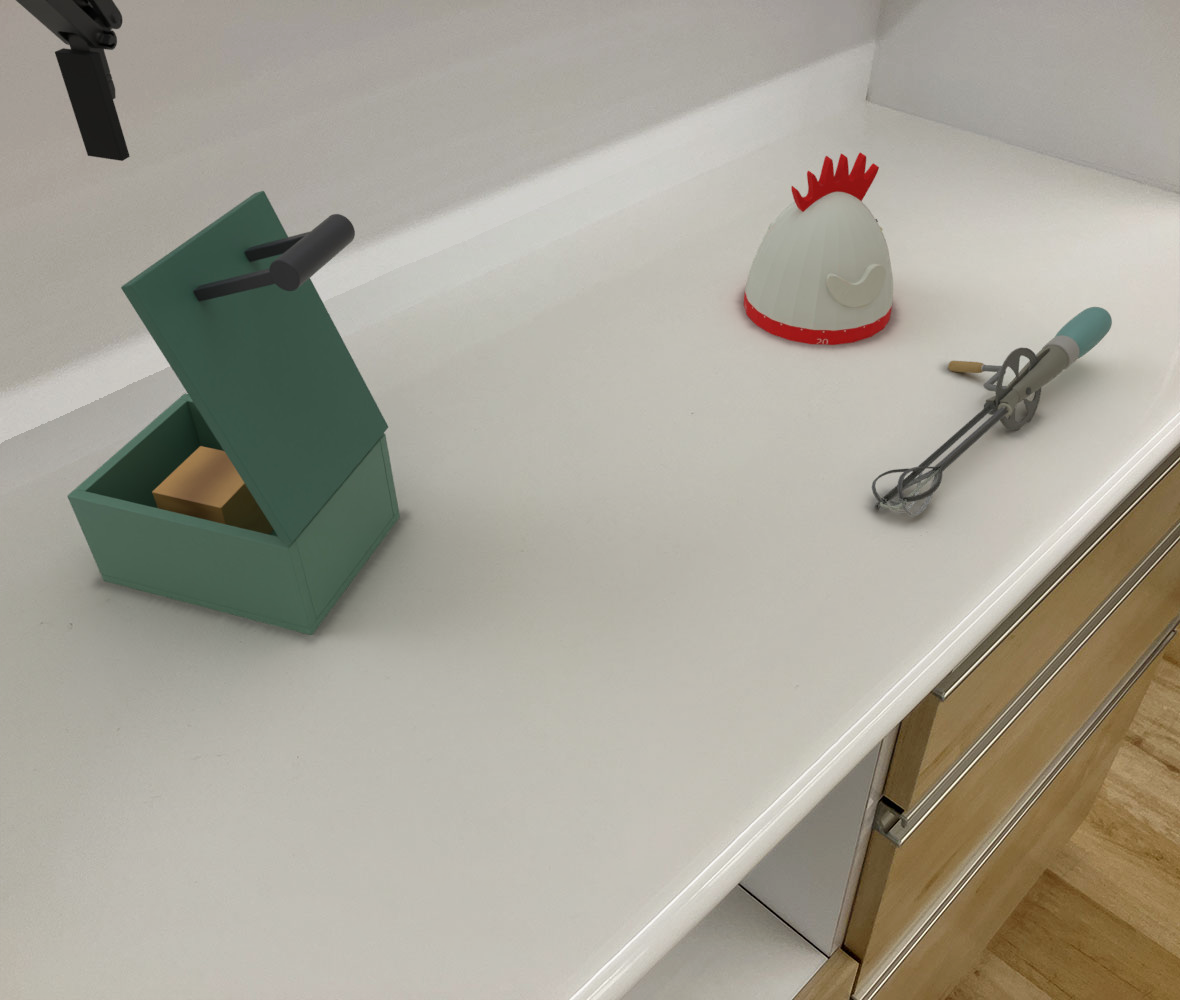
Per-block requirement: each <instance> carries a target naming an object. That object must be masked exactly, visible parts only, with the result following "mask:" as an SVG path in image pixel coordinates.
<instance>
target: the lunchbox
mask: <svg viewBox="0 0 1180 1000" xmlns="http://www.w3.org/2000/svg"><path fill="white" fill-rule="evenodd" d="M200 446H203V447H208V448H212V449H217V450H222V451H224V450H223V448H222V447H221V445H220V444H219V442H218V440H217V439H216V437H215V436H214V434H213V432H212V431H211V429H210V428H209V426H208V425H207V423H206V421H205V420H204V418H203V417H202V415H201V414H200V412H199V410H198V409H197V407H196V406H195V404H194V402H193V401H192V399H191V398H190V396H189V395H188V393H183V394H182V395H181V396H180V397H179V398H178V399H176V400H175V401H174V402H173V403H171V404H170V405H169V406H168V407H167V408H166V409H165V410H164V411H162V412H161V413H160V414H159V415H158V416H157V417H155V418H154V419H153V420H152V421H151V422H150V423H149V424H148V425H147V426H146V427H144V428H143V429H142V430H141V431H140V432H139V433H137V435H135V436H134V437H132V438H131V440H130V441H128V442H127V443H126V444H125V445H124V446H122V447H121V448H120V449H119V450H118V451H117V452H115V453H114V454H113V455H112V456H111V457H110V458H109V459H108V460H106V461H105V462H104V463H102V465H101V466H100V467H98V468H97V469H96V470H95V471H93V473H91V474H90V475H89V476H88V477H87V478H86V479H84V480H83V482H81V483H80V484H79V485H78V486H76V488H74V489H73V490H72V491H71V492H69V494H67V499H68V501H69V504H70V506H71V509H72V511H73V513H74V515H75V517H76V520H77V522H78V525H79V526H80V529H81V531H82V534H83V536H84V538H85V541H86V543H87V545H88V547H89V549H90V552H91V555H92V557H93V560H94V561H95V564H96V566H97V569H98V571H99V574H100V576H101V578H102V580H103V582H107V583H111V584H114V585H118V586H122V587H126V588H129V589H134V590H138V591H141V592H144V593H148V594H153V595H156V596H160V597H164V598H167V599H171V600H175V601H180V602H182V603H188V604H190V605H195V606H199V607H202V608H206V609H210V610H213V611H217V612H222V613H225V614H229V615H233V616H237V617H241V618H245V619H249V620H252V621H254V622H255V621H256V622H260V623H263V624H267V625H271V626H274V627H278V628H282V629H286V630H290V631H294V632H298V633H301V634H304V635H309V636H313V635H314V634H315V632H316V631H317V629H319V627H320V626H321V624H322V623H323V621H324V620H325V618H326V617H327V616H328V614H329V613H330V612H331V610H333V608H334V606H335V605H336V604H337V602H338V601H339V600H340V598H341V597H342V596H343V595H344V593H345V592H346V591H347V589H348V587H349V586H350V584H352V582H353V581H354V580H355V578H356V577H357V576H358V574H359V573H360V572H361V570H362V569H363V567H364V566H365V565H366V564H367V562H368V561H369V560H370V558H371V557H372V555H373V554H374V553H375V552H376V550H377V549H378V547H379V546H380V545H381V543H382V542H383V541H384V539H385V538H386V537H387V535H388V534H389V532H390V531H391V530H392V529H393V527H394V526H395V524H396V523H397V522H398V521H399V519H400V518H401V516H400V515H401V514H400V510H399V504H398V498H397V492H396V487H395V481H394V475H393V470H392V464H391V458H390V452H389V447H388V442H387V435H386V432H384V433H383V435H382V436H381V437H380V438H379V439H378V440H377V442H376V443H375V444H374V445H373V446H372V448H371V449H370V450H369V451H368V452H367V454H366V455H365V456H364V457H363V458H362V459H361V461H360V462H359V463H358V464H357V465H356V467H355V468H354V469H353V470H352V471H351V473H350V474H349V475H348V476H347V477H346V479H345V480H344V481H343V482H342V483H341V484H340V486H339V487H338V488H337V489H336V490H335V492H334V493H333V494H332V495H331V496H330V498H329V499H328V500H327V501H326V502H325V503H324V505H323V506H322V507H321V508H320V509H319V511H318V512H317V513H316V514H315V515H314V517H313V518H312V519H311V520H310V521H309V522H308V524H307V525H306V526H305V527H304V528H303V530H302V531H301V532H300V533H299V534H298V536H297V537H296V538H295V539H294V540H293V541H292V542H290V543H282V541H281V540H280V538H279V537H278V535H277V534H276V532H275V530H273V531H272V532H271V533H270V534H269V535H268V534H264V533H260V532H256V531H251V530H247V529H243V528H239V527H234V526H230V525H226V524H222V523H218V522H213V521H209V520H205V519H201V518H196V517H192V516H188V515H184V514H179V513H175V512H171V511H167V510H162V509H158V507H157V504H156V501H155V499H154V496H153V493H152V491H154V490H155V489H156V488H157V487H158V486H159V485H160V484H161V483H162V482H163V481H164V480H165V479H166V478H167V477H168V476H169V475H170V474H171V473H172V472H174V471H175V470H176V469H177V468H178V467H179V466H180V465H181V464H182V463H183V462H184V461H185V460H186V459H187V458H188V457H189V456H190V455H191V454H192V453H194V452H195V451H196V450H197V449H198V448H199V447H200Z"/></svg>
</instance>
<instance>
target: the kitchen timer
mask: <svg viewBox="0 0 1180 1000" xmlns="http://www.w3.org/2000/svg"><path fill="white" fill-rule="evenodd" d="M866 165H867V156H866V155H865V154H863V153H862V152H858V155H857V156H856V159H855V161H854V164H853V165H852V168H851V171H850V170H849V159H848V157H847V156H846V155H844V153H840V155H839V158H838V162H837V166H836V170H835V169H834V162H833V158H831V157H830V156H828V155H825V156H824V159H823V163H822V167H821V170H820V175H819V178H818V179H817V176H816V175H815V174H814V173H813V172H812V171H810V170H807V171H806V179H807V193H806V194H803V195H802V194H801V193H800V191H799V190H798V189H797V188H796V187H795V186H793V185H791V187H790V188H791V194H792V197H793V202H791V204H789V205H788V206H787V207H786V208H785V209H784V210H783V212H781V213H780V214H779V216H778V217H777V218H776V219H775V220H774V221H773V222H771V223H770V224H769V225H768V228H767V231H766V233H765V234H764V236H763V238H762V240H761V242H760V244H759V247H758V249H757V252H756V254H755V257H754V258H753V261H752V263H751V266H750V268H749V272H748V276H747V280H746V284H745V287H744V295H743V296H744V297H743V307H744V311H745V314H746V316H747V318H749V319H750V321H752V322H753V323H754V325H756V326H757V327H758V328H759V329H762V330H763V331H765V332H767V333H768V334H770V335H773V336H776V337H779V338H782V339H784V340H788V341H790V342H795V343H801V344H808V345H823V346H824V345H825V346H835V345H845V344H853V343H856V342H859V341H862V340H866V339H870V338H872V337H874V336H875V335H877V334H878V333H879V332H881V331H882V330H884V329H885V327H886V326H887V325H888V323H889V322H890V320H891V314H892V311H893V310H892V308H893V302H894V277H893V269H892V263H891V256H890V250H889V246H888V243H887V239H886V237H885V234H884V232H883V228H882V227H881V226H880V224H879V221H878V219H877V218H876V217H875V216H874V215H873V213H872V211H871V209H869V207H868V206H867V205H866V204H865V203H864V202H863V199H864V198H865V196H866V194H867V193H868V191H869V189H870V188H871V186H872V184H873V182H874V180H875V178H876V176H877V175H878V173H879V169H880V166H879V165H877V164H875V163H874V162H873V163H871V165H870V166H869V167H868V169H867V170H866ZM834 170H835V171H834Z"/></svg>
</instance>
